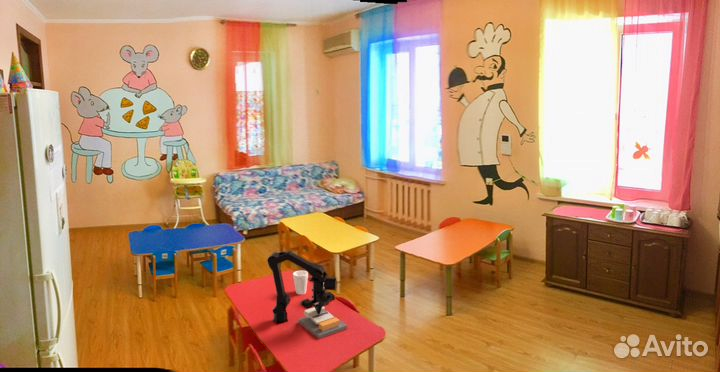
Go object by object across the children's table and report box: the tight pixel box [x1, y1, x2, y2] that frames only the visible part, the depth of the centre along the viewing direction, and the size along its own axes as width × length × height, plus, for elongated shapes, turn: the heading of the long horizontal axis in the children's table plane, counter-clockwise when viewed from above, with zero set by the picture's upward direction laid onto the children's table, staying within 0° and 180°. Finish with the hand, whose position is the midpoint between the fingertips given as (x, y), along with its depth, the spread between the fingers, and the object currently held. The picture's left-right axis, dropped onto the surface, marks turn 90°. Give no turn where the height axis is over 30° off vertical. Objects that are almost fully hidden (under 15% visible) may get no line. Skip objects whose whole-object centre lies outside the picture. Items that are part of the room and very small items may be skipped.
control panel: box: [297, 310, 348, 340], centre depth 271 cm, size 18×22×4 cm
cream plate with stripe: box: [310, 310, 335, 324], centre depth 270 cm, size 11×7×1 cm, turn 126°
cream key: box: [304, 306, 326, 318], centre depth 276 cm, size 11×4×3 cm, turn 126°
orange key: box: [319, 316, 341, 331], centre depth 265 cm, size 11×4×3 cm, turn 126°
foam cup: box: [292, 270, 309, 295], centre depth 312 cm, size 10×9×13 cm
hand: (318, 313), depth 273 cm, fingers closed, pressing on cream plate with stripe
